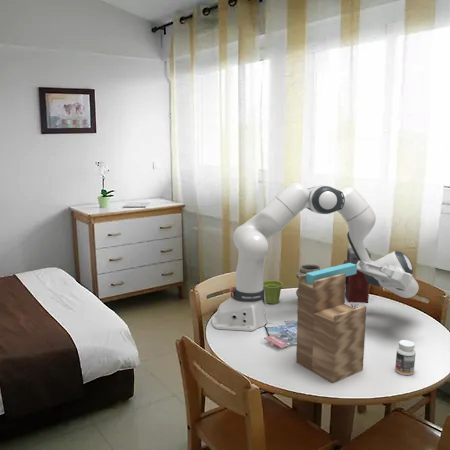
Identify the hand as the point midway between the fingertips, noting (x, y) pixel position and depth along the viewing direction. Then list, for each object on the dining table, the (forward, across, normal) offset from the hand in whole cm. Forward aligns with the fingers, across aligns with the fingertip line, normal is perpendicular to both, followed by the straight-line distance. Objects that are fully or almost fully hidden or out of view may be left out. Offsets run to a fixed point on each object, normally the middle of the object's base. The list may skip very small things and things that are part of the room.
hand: (370, 265), depth 172 cm
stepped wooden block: (+9, +5, +38) cm, 39 cm away
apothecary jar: (-20, -37, +21) cm, 48 cm away
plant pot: (-11, -50, +26) cm, 58 cm away
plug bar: (+18, +1, +10) cm, 21 cm away
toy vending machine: (-40, -31, +10) cm, 52 cm away
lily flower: (-29, -21, +17) cm, 39 cm away
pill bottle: (-6, +22, +30) cm, 38 cm away
